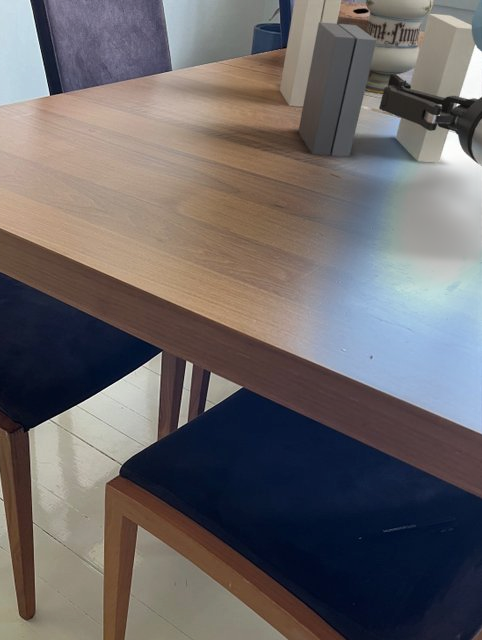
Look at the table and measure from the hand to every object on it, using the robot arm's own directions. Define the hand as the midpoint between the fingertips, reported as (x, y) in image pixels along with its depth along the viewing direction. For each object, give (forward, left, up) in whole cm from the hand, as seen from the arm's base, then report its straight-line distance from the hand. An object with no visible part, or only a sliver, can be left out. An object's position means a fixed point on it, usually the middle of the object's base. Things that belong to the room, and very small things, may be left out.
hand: (440, 89), depth 97 cm
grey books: (+13, -3, -10) cm, 17 cm away
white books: (+11, -33, -10) cm, 36 cm away
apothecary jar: (-7, -47, -10) cm, 48 cm away
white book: (0, -3, -10) cm, 10 cm away
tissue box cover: (-6, -67, -10) cm, 68 cm away
